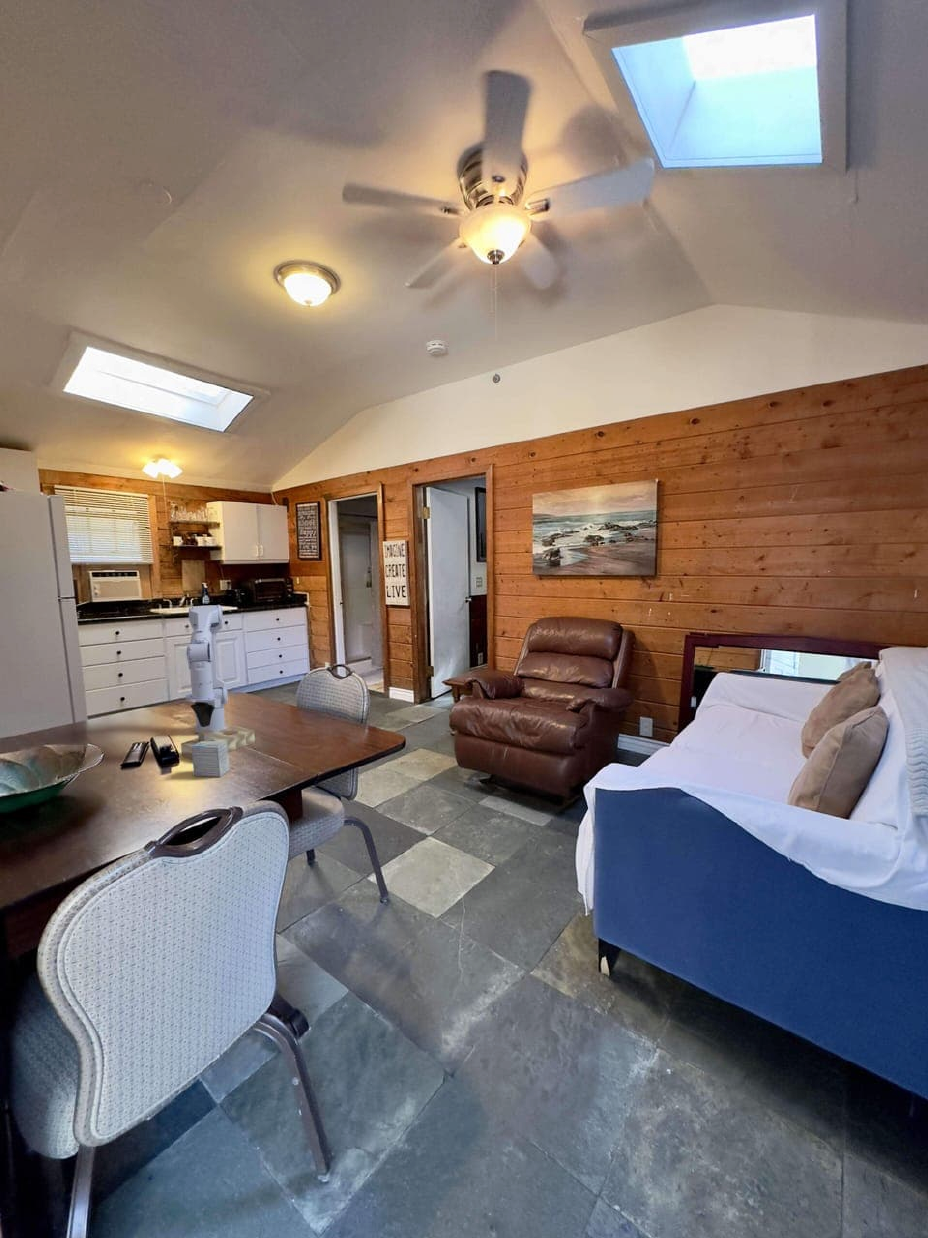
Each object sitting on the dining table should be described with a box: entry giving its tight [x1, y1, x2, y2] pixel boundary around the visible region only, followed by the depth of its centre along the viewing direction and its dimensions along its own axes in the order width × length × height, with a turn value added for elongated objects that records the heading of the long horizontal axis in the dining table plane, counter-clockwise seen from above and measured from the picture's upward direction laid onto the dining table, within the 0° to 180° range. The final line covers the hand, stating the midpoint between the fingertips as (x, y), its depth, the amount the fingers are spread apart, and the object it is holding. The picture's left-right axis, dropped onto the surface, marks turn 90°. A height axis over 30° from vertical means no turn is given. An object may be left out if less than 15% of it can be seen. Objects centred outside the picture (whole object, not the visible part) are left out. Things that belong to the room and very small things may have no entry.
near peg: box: [197, 729, 214, 742], centre depth 147 cm, size 3×3×4 cm
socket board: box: [180, 725, 256, 761], centre depth 150 cm, size 18×10×4 cm, turn 150°
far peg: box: [223, 730, 238, 735], centre depth 154 cm, size 3×3×4 cm
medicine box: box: [192, 741, 230, 778], centre depth 132 cm, size 8×4×9 cm, turn 84°
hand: (205, 726), depth 146 cm, fingers closed
